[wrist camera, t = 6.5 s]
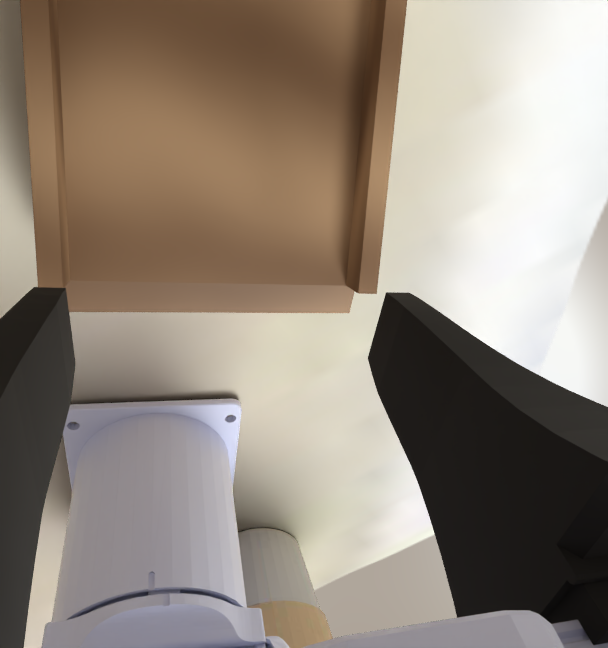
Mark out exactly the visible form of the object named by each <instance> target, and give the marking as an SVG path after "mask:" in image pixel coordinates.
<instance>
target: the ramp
mask: <svg viewBox="0 0 608 648" xmlns="http://www.w3.org/2000/svg"><path fill="white" fill-rule="evenodd" d="M406 6H407V0H20V7H21V23H22V39H23V55H24V71H25V86H26V102H27V118H28V134H29V150H30V166H31V182H32V198H33V214H34V229H35V245H36V261H37V277H38V287H50V288H66V292H67V301H68V309H69V312H236V313H349V312H350V308H351V304H352V299H353V295H354V291H355V292H357V293H366V294H377V285H378V275H379V266H380V256H381V246H382V237H383V227H384V218H385V208H386V198H387V189H388V179H389V170H390V160H391V150H392V141H393V131H394V122H395V112H396V102H397V93H398V83H399V74H400V64H401V54H402V45H403V35H404V26H405V16H406Z"/></svg>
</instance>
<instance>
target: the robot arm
mask: <svg viewBox="0 0 608 648" xmlns="http://www.w3.org/2000/svg"><path fill="white" fill-rule="evenodd" d="M368 360H369V364H370V368H371V371H372V375H373V379H374V382H375V385H376V388H377V392H378V394H379V396H380V399H381V401H382V403H383V406H384V408H385V410H386V412H387V414H388V417H389V419H390V421H391V423H392V425H393V427H394V430H395V432H396V434H397V436H398V438H399V440H400V443H401V445H402V447H403V449H404V451H405V453H406V455H407V458H408V460H409V462H410V464H411V466H412V469H413V471H414V474H415V476H416V479H417V481H418V484H419V486H420V489H421V492H422V495H423V498H424V501H425V504H426V507H427V510H428V513H429V516H430V520H431V523H432V526H433V530H434V533H435V536H436V539H437V543H438V546H439V549H440V553H441V556H442V560H443V564H444V567H445V571H446V575H447V578H448V582H449V586H450V590H451V594H452V598H453V601H454V605H455V609H456V614H457V618H453V619H446V620H440V621H433V622H427V623H421V624H415V625H409V626H403V627H396V628H389V629H383V630H377V631H370V632H364V633H358V634H352V635H346V636H341V637H337V638H334V639H330V640H327V641H323V642H319V643H316V644H312V645H309V646H305V647H303V648H608V407H606V406H604V405H601V404H599V403H596V402H594V401H592V400H589V399H587V398H585V397H583V396H580V395H578V394H576V393H574V392H571V391H569V390H567V389H565V388H563V387H561V386H559V385H556V384H554V383H552V382H550V381H548V380H546V379H545V378H543V377H541V376H539V375H537V374H535V373H533V372H531V371H530V370H528V369H526V368H524V367H522V366H521V365H519V364H517V363H515V362H514V361H512V360H510V359H509V358H507V357H506V356H504V355H502V354H501V353H499V352H497V351H496V350H494V349H493V348H491V347H490V346H488V345H486V344H485V343H483V342H482V341H480V340H479V339H477V338H476V337H474V336H473V335H471V334H470V333H469V332H467V331H466V330H464V329H463V328H461V327H460V326H458V325H457V324H456V323H454V322H453V321H451V320H450V319H448V318H447V317H446V316H444V315H443V314H441V313H440V312H438V311H437V310H436V309H434V308H433V307H431V306H430V305H428V304H427V303H425V302H424V301H422V300H421V299H419V298H417V297H416V296H414V295H412V294H410V293H386V295H385V299H384V302H383V306H382V309H381V313H380V317H379V320H378V324H377V327H376V331H375V335H374V338H373V342H372V345H371V349H370V352H369V356H368ZM74 371H75V357H74V349H73V341H72V333H71V325H70V317H69V309H68V301H67V292H66V288H50V287H34V288H33V289H32V290H30V291H29V292H28V293H27V294H26V295H25V296H24V297H23V298H22V299H21V300H20V301H18V302H17V303H16V304H15V305H14V306H13V307H12V308H11V309H10V310H9V311H8V312H7V313H6V314H5V315H4V316H3V317H2V318H1V319H0V648H24V639H25V631H26V623H27V615H28V607H29V600H30V592H31V585H32V578H33V571H34V563H35V556H36V550H37V543H38V537H39V530H40V524H41V517H42V512H43V507H44V503H45V498H46V494H47V490H48V486H49V482H50V479H51V475H52V471H53V468H54V464H55V460H56V456H57V453H58V449H59V445H60V442H61V438H62V434H63V439H64V445H65V452H66V458H67V464H68V471H69V477H70V483H71V490H72V498H71V504H70V510H69V516H68V522H67V529H66V535H65V541H64V547H63V554H62V560H61V566H60V572H59V578H58V585H57V591H56V597H55V603H54V609H53V616H52V622H49V623H47V624H46V625H45V629H44V635H43V641H42V647H41V648H290V647H289V646H288V645H287V643H286V642H285V641H284V640H283V639H282V638H280V637H278V636H267V637H265V631H264V624H263V617H262V610H261V609H260V608H247V604H246V596H245V588H244V579H243V571H242V563H241V555H240V547H239V538H238V530H237V522H236V514H235V505H234V497H233V481H234V473H235V464H236V455H237V447H238V438H239V429H240V420H241V412H242V409H241V403H240V402H239V401H238V400H236V399H206V400H178V401H151V402H124V403H96V404H72V405H70V403H71V395H72V388H73V379H74ZM228 415H233V416H231V417H227V416H228ZM70 422H77V423H76V424H73V423H70Z"/></svg>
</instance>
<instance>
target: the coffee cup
mask: <svg viewBox="0 0 608 648" xmlns="http://www.w3.org/2000/svg"><path fill="white" fill-rule="evenodd" d="M238 538H239V547H240V555H241V563H242V571H243V579H244V588H245V596H246V604H247V608H260V609H261V610H262V617H263V624H264V631H265V637H267V636H278V637H280V638H282V639H283V640H284V641H285V642H286V643H287V645H288V646H289V647H290V648H303V647H305V646H309V645H312V644H316V643H319V642H323V641H327V640H330V639H333V638H332V635H331V632H330V629H329V626H328V623H327V620H326V617H325V614H324V613H323V612H322V611H321V610H320V607H319V604H318V601H317V598H316V595H315V592H314V589H313V586H312V583H311V580H310V577H309V574H308V571H307V568H306V565H305V562H304V559H303V557H302V554H301V551H300V548H299V545H298V542H297V541H296V540H295V538H294V537H292V536H291V535H290V534H288V533H286V532H283V531H280V530H276V529H270V528H256V529H249V530H245V531H242V532H239V533H238Z"/></svg>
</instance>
